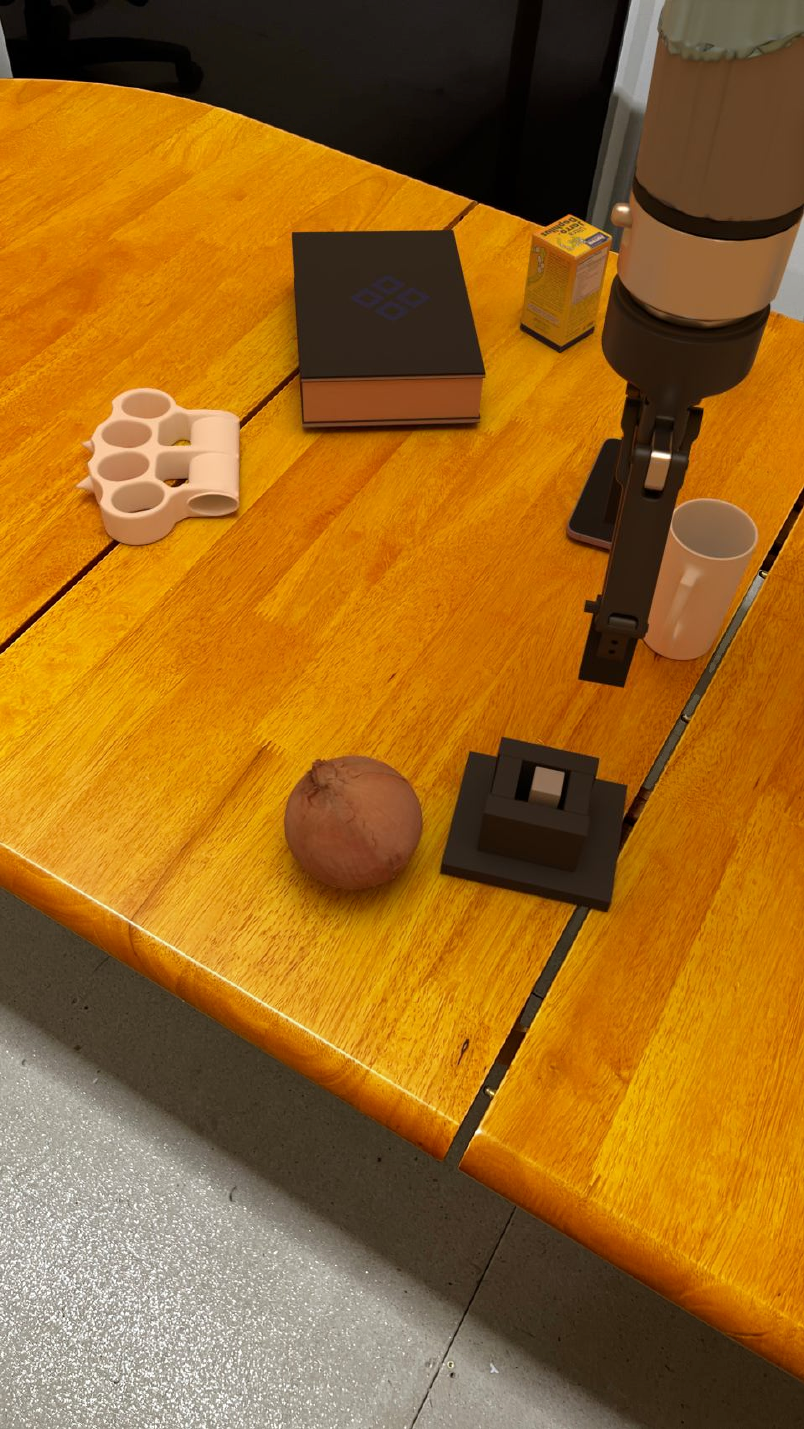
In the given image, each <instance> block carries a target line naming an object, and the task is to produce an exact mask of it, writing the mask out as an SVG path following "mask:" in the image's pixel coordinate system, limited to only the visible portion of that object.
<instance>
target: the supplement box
mask: <svg viewBox="0 0 804 1429" xmlns="http://www.w3.org/2000/svg"><path fill="white" fill-rule="evenodd" d="M531 236H532V237H531V243H530V244H531V245H530V251H529V260H528V265H527V274H526V280H525V287H524V294H523V303H522V310H521V317H520V326H519V330H521V331H522V332H524V333H526V334H528V335H529V336H531V337H533V338H535V339H536V340H537V341H539V340H540V341H539V342H541V343H543V344H544V345H546V346H548V347H550V348H552V350H553V349H554V350H555V351H557V352H559V353H561V352H563V351H564V350H566V349H568V348H569V347H571V346H572V345H574V344H575V343H577V342H579V341H581V340H583V339H584V338H585V337H587V336H588V335H590V334H591V333H593V332H594V331H595V329H596V324H597V318H598V314H599V308H600V302H601V299H602V298H601V297H602V292H603V286H604V282H605V276H606V271H607V268H608V266H607V265H608V263H609V262H608V261H609V257H610V251H611V246H612V242H613V236H612V235H611V234H609V233H608V232H605V231H603V230H601V229H599V228H597V227H595V226H593V225H591V224H589V223H587V222H586V221H584V220H583V219H580V218H579V217H577V216H574V215H572V214H567V215H565V216H563V217H561V218H559V219H558V220H556V221H554V222H552V223H550V224H549V225H547V226H545V227H543V228H541V229H539V230H537V231H535V232H533V233H532V235H531Z"/></svg>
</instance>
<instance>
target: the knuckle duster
mask: <svg viewBox="0 0 804 1429" xmlns="http://www.w3.org/2000/svg"><path fill="white" fill-rule="evenodd" d="M110 405H111V409H112V412H111V414H110V415H109V416H108V418H107V419H106V420H105V421H103V422H102V423H100V424H98V425H97V426H96V429H95V430H94V432H93V434H92V436H91V438H90V439H89V440H87V441H83V442H82V443H80V445H81V446H82V447H84V448H85V449H87V450H88V451H89V452H90V453H92V454H93V455H92V457H91V458H90V460H89V461H88V462H87V470H88V472H89V474H88V476H86V477H85V478H84V479H83V480H81V481H80V482H79V483H77V484H76V485H75V486H74V488H75V489H79V490H83V491H86V492H89V493H93V494H94V496H95V500H96V503H97V504H98V505H99V509H100V510H99V511H100V514H101V518H102V522H103V526H104V530H105V531H106V533H107V534H108V535H109V537H110V538H112V539H113V540H115V541H117V542H118V543H122V544H124V545H129V546H144V545H149V544H153V543H155V542H157V541H160V540H162V539H164V538H165V537H166V536H167V535H168V534H170V532H172V530H173V528H174V527H175V525H176V524H177V523H179V522H180V521H182V520H185V519H187V518H190V517H191V518H194V517H195V518H199V517H200V518H202V517H220V516H224V515H229V514H232V513H233V512H236V511H237V510H238V509H239V507H240V466H241V464H240V433H241V424H240V418H239V417H238V416H237V415H235V413H232V412H229V411H226V410H220V409H207V408H204V409H201V408H200V409H199V408H198V409H186V408H184V407H183V406H180V405H177V402H176V401H175V399H174V398H173V397H172V396H171V395H170V394H169V393H167V392H165V391H162V390H160V389H156V388H150V387H141V388H133V389H129V390H127V391H124V392H122V393H120V394H118V395H117V396H116V397H114V398H113V400H111V402H110ZM179 441H187V442H190V443H189V445H175V444H176V443H177V442H179ZM186 479H187V480H188V483H182V484H181V485H179V486H175V487H171V486H169V485H167V483H166V482H165V481H168V480H186Z"/></svg>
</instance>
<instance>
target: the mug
mask: <svg viewBox="0 0 804 1429" xmlns="http://www.w3.org/2000/svg"><path fill="white" fill-rule="evenodd" d="M758 542H759V530H758V527H757V525H756V523H755V521H754V519H752V517H751V516H750V515H749V514H748V513H747V512H746V511H745V510H743V509H742V508H740V507H738V506H737V505H734V504H733V503H731V502H728V501H726V500H722V499H717V498H708V497H707V498H705V497H704V498H703V497H702V498H701V497H700V498H694V499H690V500H687V501H683V502H682V503H680V504H679V505H678V506H676V507H675V508H674V512H673V517H672V521H671V525H670V529H669V534H668V538H667V542H666V546H665V550H664V555H663V559H662V563H661V567H660V572H659V576H658V580H657V584H656V589H655V593H654V597H653V601H652V606H651V610H650V614H649V618H648V624H649V628H648V632H647V633H646V635H645V638H643V639H642V640H643V641H644V643H646V645H647V646H648V647H649V648H650V649H651V650H652V651H654V652H655V653H656V654H658V655H660V656H662V657H665V658H668V659H672V660H677V661H691V660H694V659H698V658H700V657H703V655H705V654H706V653H708V651H709V650H710V649H711V648H712V646H713V644H714V642H715V640H716V638H717V635H718V633H719V632H720V630H721V627H722V625H723V623H724V620H725V618H726V616H727V613H728V611H729V608H730V606H731V604H732V602H733V599H734V597H735V595H736V593H737V591H738V588H739V586H740V583H741V582H742V579H743V577H744V575H745V573H746V571H747V568H748V566H749V564H750V561H751V559H752V556H753V554H754V552H755V549H756V546H757V545H758Z"/></svg>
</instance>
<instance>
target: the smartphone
mask: <svg viewBox="0 0 804 1429" xmlns="http://www.w3.org/2000/svg"><path fill="white" fill-rule="evenodd" d="M620 443H621V439H620V438H616V437H611V438H607V439H605V440H604V441H603V443H602V445H601V447H600V449H599V451H598V454H597V456H596V458H595V461H594V463H593V465H592V467H591V470H590V472H589V474H588V477H587V479H586V481H585V483H584V486H583V487H582V490H581V492H580V494H579V497H578V498H577V502H576V504H575V506H574V508H573V509H572V510H573V511H572V513H571V515H570V517H569V519H568V522H567V526H566V533H567V535H568V536H569V537H570V538H572V539H573V540H577V541H580V542H584V543H587V544H591V545H594V546H597V547H600V548H604V549H607V550H610V548H611V543H612V538H613V533H614V528H615V525H611V524H605V523H603V518H604V513H605V509H606V504H607V500H608V496H609V491H610V487H611V482H612V478H613V474H614V469H615V465H616V460H617V456H618V452H619V447H620Z"/></svg>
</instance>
